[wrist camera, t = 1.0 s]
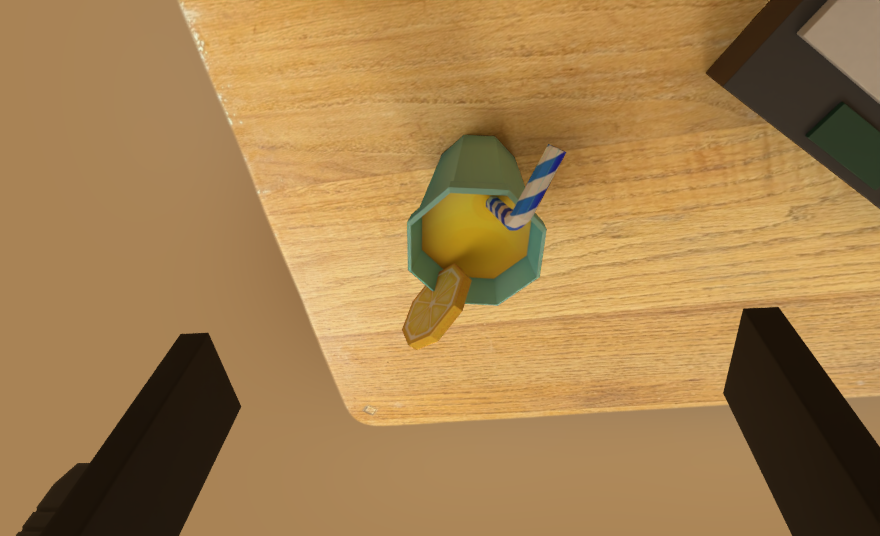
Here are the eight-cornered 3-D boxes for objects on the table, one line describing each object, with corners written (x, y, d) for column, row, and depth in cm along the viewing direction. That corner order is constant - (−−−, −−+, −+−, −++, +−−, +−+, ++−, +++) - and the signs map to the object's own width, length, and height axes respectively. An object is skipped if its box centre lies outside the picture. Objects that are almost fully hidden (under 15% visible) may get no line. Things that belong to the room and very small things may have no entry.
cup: (476, 33, 33) (470, 113, 21) (588, 88, 34) (647, 194, 22) (393, 218, 40) (352, 360, 28) (488, 257, 42) (490, 409, 29)
